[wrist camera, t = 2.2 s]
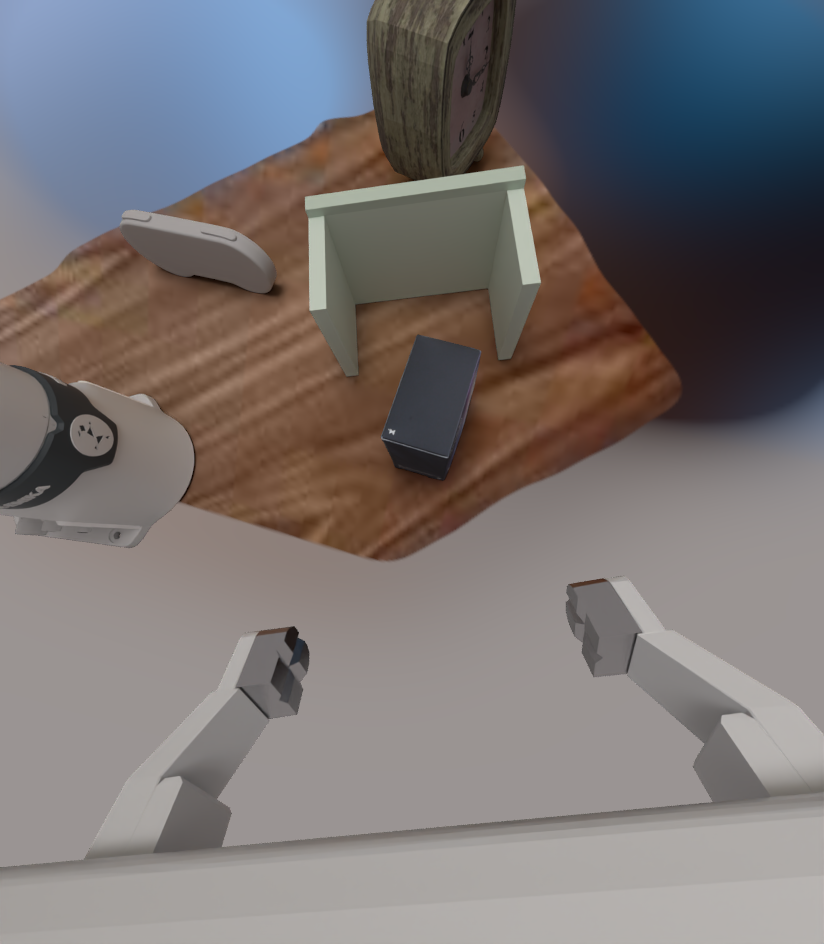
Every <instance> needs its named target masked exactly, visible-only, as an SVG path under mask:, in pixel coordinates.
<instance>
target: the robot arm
mask: <svg viewBox="0 0 824 944" xmlns="http://www.w3.org/2000/svg"><path fill="white" fill-rule="evenodd" d="M193 468H194V450H193V445H192V442H191V439H190V437H189V435H188V433H187V431H186V430H185V429H184V427H183V426H182V425H181V424H180V423H179V422H177V421H176V420H175V419H173V418H171V417H170V416H168V415H166V414H165V413H163V412H162V411H161V409H160V407H159V406H158V404H157V403H156V401H155V400H154V399H153V398H152V397H150V396H147V395H145V394H137V395H133V396H130V397H127V396H125V395H122V394H120V393H117V392H114V391H112V390H109V389H106V388H104V387H101V386H98V385H96V384H93V383H90V382H87V381H78V382H76V383H70V384H66V383H64V382H62V381H61V380H59V379H57V378H55V377H53V376H50V375H48V374H45V373H42V372H37V371H34V370H32V369H29V368H26V367H22V366H16V365H6V364H4V363H1V362H0V515H7V516H13V517H14V521H15V523H16V530H15V532H16V533H15V534H22V535H38V536H45V537H53V538H60V539H67V540H75V541H82V542H89V543H97V544H104V545H112V546H118V547H128V548H132V547H135V546H136V545H138V544H139V543H140V542H141V540H142V539H143V538H144V536H145V535H146V533H147V532H148V530H149V529H150V527H151V526H152V525H153V524H154V523H155V522H156V521H157V520H159V519H160V518H162V517H163V516H164V515H166V514H167V513H168V512H169V511H170V510H171V509H172V508H173V507H174V506H175V505H176V504H177V503H178V502H179V500H180V499H181V497H182V496H183V494H184V493H185V491H186V489H187V487H188V485H189V482H190V480H191V477H192V473H193ZM120 534H121V536H119V535H120ZM567 595H568V597H569V600H568V601H567V602H566V613H567V618H568V622H569V625H570V627H571V630H572V632H573V634H574V636H575V637H576V638H577V639H579V640H580V641H581V642H583V645H582V654H583V656H584V658H585V660H586V662H587V664H588V666H589V668H590V671H591V673H592V674H593V677H599V676H610V675H619V674H627V676H628V677H629V678H630V679H631V680H633V681H634V682H635V683H636V684H637V685H638V686H639V687H641V688H642V689H643V690H644V691H645V692H646V693H647V694H649V695H650V696H651V697H652V698H653V699H654V700H655V701H657V702H658V703H659V704H660V705H661V706H662V707H663V708H665V709H666V710H667V711H668V712H669V713H670V714H671V715H672V716H674V717H675V718H676V719H677V720H678V721H679V722H681V723H682V724H683V725H684V726H685V727H686V728H687V729H688V730H690V731H691V732H692V733H693V734H694V735H696V736H697V737H698V738H699V739H700V740H701V741H702V742H703V743H704V746H703V748H702V749H701V751H700V753H699V754H698V756H697V758H696V760H695V762H694V765H693V768H694V770H695V771H696V773H697V775H698V777H699V778H700V780H701V782H702V784H703V785H704V787H705V789H706V791H707V792H708V794H709V796H710V797H711V799H712V801H713V802H711V803H699V804H689V805H677V806H666V807H656V808H645V809H633V810H623V811H612V812H601V813H590V814H579V815H568V816H557V817H546V818H535V819H524V820H513V821H504V822H503V821H502V822H492V823H480V824H469V825H458V826H447V827H436V828H426V829H415V830H404V831H393V832H382V833H371V834H361V835H349V836H338V837H328V838H316V839H305V840H295V841H283V842H272V843H262V844H250V845H240V846H229V847H222V844H223V840H224V837H225V834H226V830H227V827H228V823H229V820H230V817H231V814H232V813H231V810H230V808H229V807H228V806H226V805H225V804H223V803H222V802H220V801H218V800H217V798H218V796H219V795H220V794H221V792H222V790H223V789H224V787H225V786H226V785H227V783H228V782H229V780H230V779H231V777H232V776H233V774H234V773H235V771H236V770H237V768H238V767H239V765H240V764H241V762H242V761H243V759H244V758H245V756H246V755H247V754H248V752H249V751H250V749H251V748H252V746H253V745H254V743H255V741H256V740H257V739H258V737H259V736H260V734H261V733H262V731H263V730H264V728H265V727H266V725H267V724H268V722H269V719H272V718H278V717H285V716H291V715H297V713H298V709H299V704H300V700H301V696H302V692H303V688H302V685H301V683H300V681H301V680H302V679H303V678H304V676H305V675H306V674H307V671H308V666H309V650H308V646H307V644H306V643H305V641H303V640H301V639H299V638H298V634H299V632H298V630H297V629H296V628H295V627H294V626H293V627H286V628H278V629H271V630H263V631H262V630H261V631H255V632H248V633H245V634H244V635H243V636H242V637H241V638H240V639H239V642H238V644H237V646H236V648H235V651H234V653H233V655H232V657H231V660H230V662H229V664H228V666H227V669H226V671H225V673H224V675H223V678H222V680H221V682H220V685H219V687H218V689H217V691H214V692H211V693H210V694H209V695H208V696H207V697H206V698H205V699H204V700H203V701H202V702H201V704H200V705H199V706H198V707H197V708H196V709H195V710H194V711H193V712H192V713H191V714H190V715H189V716H188V717H187V718H186V719H185V720H184V721H183V722H182V723H181V724H180V725H179V726H178V728H176V730H175V731H174V732H173V733H172V734H171V735H170V736H169V737H168V738H167V739H166V740H165V741H164V742H163V743H162V744H161V745H160V746H159V747H158V748H157V749H156V750H155V751H154V753H152V754H151V756H150V757H149V758H148V759H147V760H146V761H145V762H144V763H143V764H142V765H141V766H140V767H139V768H138V769H137V770H136V771H135V772H134V773H133V774H132V775H131V776H130V777H129V778H128V779H127V781H126V783H125V784H124V787H123V788H122V790H121V792H120V794H119V796H118V797H117V799H116V801H115V803H114V805H113V807H112V809H111V810H110V812H109V814H108V816H107V818H106V820H105V821H104V823H103V825H102V827H101V829H100V831H99V833H98V835H97V836H96V838H95V840H94V842H93V844H92V845H91V847H90V849H89V851H88V853H87V855H86V857H85V858H84V860H77V861H66V862H55V863H43V864H32V865H21V866H11V867H0V944H824V735H823V733H822V732H821V731H820V730H819V729H818V728H817V727H816V726H815V725H814V723H813V722H812V721H811V720H810V719H809V718H808V717H807V716H806V715H805V713H804V712H803V711H802V710H801V709H800V708H799V707H798V706H797V705H796V704H794V703H793V702H791V701H789V700H788V699H786V698H785V697H783V696H781V695H779V694H778V693H776V692H775V691H773V690H771V689H770V688H768V687H766V686H765V685H763V684H762V683H760V682H758V681H756V680H755V679H753V678H752V677H750V676H748V675H747V674H745V673H743V672H742V671H740V670H738V669H737V668H735V667H733V666H732V665H730V664H729V663H727V662H725V661H724V660H722V659H720V658H719V657H717V656H715V655H714V654H712V653H710V652H709V651H707V650H705V649H704V648H702V647H700V646H699V645H697V644H696V643H694V642H692V641H690V640H689V639H687V638H686V637H684V636H682V635H681V634H679V633H677V632H676V631H674V630H672V629H670V630H666V629H665V628H664V626H663V625H662V624H661V623H660V621H659V620H658V618H657V617H656V616H655V614H654V613H653V611H652V610H651V609H650V607H649V606H648V605H647V603H646V602H645V601H644V599H643V598H642V596H641V595H640V594H639V592H638V591H637V590H636V588H635V587H634V585H633V584H632V583H631V581H630V580H629V579H628V578H626V577H625V576H618V577H613V578H607V579H597V580H591V581H585V582H579V583H573V584H568V586H567Z"/></svg>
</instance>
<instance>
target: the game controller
mask: <svg viewBox="0 0 824 944" xmlns="http://www.w3.org/2000/svg"><path fill="white" fill-rule="evenodd" d="M122 218H123V219H122V221H121V224H120V231H121V233H122V235H123V236H124V238H125V239H126V240H127V241H128V243H129V244H130V245H131V246H132V247H133V248H134V249H135V250H137V251H138V252H139V253H140V254H141V255H143V256H144V257H145V258H147V259H148V260H149V261H151V262H152V263H154V264H156V265H157V266H159V267H161V268H163V269H164V270H166V271H168V272H171V273H173V274H176V275H179V276H183V277H190V276H193V275H198V276H203V277H207V278H212V279H216V280H221V281H225V282H230V283H233V284H235V285H237V286H239V287H241V288H244V289H246V290H249V291H251V292H255V293H267V292H269V291H270V290H271V288H272V286H273V284H274V281H275V279H276V275H277V273H276V269H275V266H274V264H273V262H272V261H271V259H270V258H269V256H268V255H267V254H266V253H265V252H264V251H263V250H262V249H261V248H260V247H259V246H258V245H257V244H256V243H254V242H253V241H252V240H250V239H249V238H247V237H246V236H244V235H242V234H241V233H239V232H237V231H234V230H232V229H229V228H225V227H221V226H216V225H211V224H206V223H201V222H196V221H191V220H186V219H181V218H176V217H171V216H166V215H160V214H155V213H150V212H144V211H138V210H129V211H125V212H124V213H123V215H122Z"/></svg>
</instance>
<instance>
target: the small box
mask: <svg viewBox="0 0 824 944" xmlns="http://www.w3.org/2000/svg"><path fill="white" fill-rule="evenodd" d="M480 355H481V351H480V350H477V349H474V348H470V347H466V346H462V345H458V344H454V343H450V342H446V341H442V340H438V339H434V338H430V337H426V336H421V335H417V336H416V339H415V342H414V345H413V347H412V350H411V353H410V356H409V359H408V362H407V364H406V367H405V370H404V373H403V376H402V378H401V381H400V384H399V387H398V390H397V393H396V396H395V399H394V401H393V404H392V407H391V410H390V412H389V415H388V418H387V421H386V424H385V427H384V430H383V432H382V435H381V438H382V441H383V442H384V444H385V446H386V448H387V450H388V452H389V454H390V456H391V458H392V460H393V463H394V466H395V467H397V468H401V469H405V470H409V471H412V472H416V473H419V474H421V475H425V476H428V477H430V478H434V479H439V480H444V479H445V477H446V475H447V473H448V470H449V468H450V465H451V462H452V459H453V456H454V454H455V450H456V447H457V444H458V441H459V438H460V435H461V432H462V429H463V426H464V423H465V419H466V416H467V412H468V408H469V405H470V401H471V397H472V393H473V389H474V385H475V381H476V376H477V371H478V366H479V360H480Z"/></svg>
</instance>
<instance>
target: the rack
mask: <svg viewBox="0 0 824 944" xmlns="http://www.w3.org/2000/svg"><path fill="white" fill-rule="evenodd" d="M525 181H526V176H525V171H524V166H517V167H510V168H503V169H496V170H489V171H482V172H475V173H468V174H461V175H454V176H447V177H440V178H433V179H426V180H419V181H412V182H405V183H398V184H391V185H384V186H377V187H371V188H364V189H357V190H350V191H343V192H336V193H329V194H322V195H315V196H308V197H305V210H306V213H307V215H308V218H309V295H310V312H311V314H312V316H313V318H314V319H315V321H316V323H317V325H318V327H319V328H320V330H321V332H322V334H323V335H324V337H325V339H326V341H327V343H328V344H329V346H330V348H331V350H332V352H333V353H334V355H335V357H336V359H337V360H338V362H339V364H340V366H341V368H342V369H343V371H344V373H345V375H346V376H356V375H358V352H357V329H356V307H355V304H363V303H372V302H380V301H388V300H396V299H404V298H413V297H421V296H429V295H437V294H445V293H454V292H462V291H470V290H478V289H486V288H488V291H489V298H490V305H491V312H492V319H493V326H494V333H495V341H496V348H497V355H498V360H504V359H511V357H512V355H513V352H514V350H515V347H516V345H517V342H518V340H519V337H520V334H521V332H522V329H523V327H524V324H525V322H526V319H527V317H528V314H529V311H530V309H531V306H532V304H533V301H534V299H535V296H536V294H537V291H538V289H539V286H540V283H541V281H540V275H539V270H538V264H537V259H536V253H535V248H534V242H533V236H532V231H531V225H530V220H529V214H528V209H527V203H526V198H525V192H524V185H525Z"/></svg>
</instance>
